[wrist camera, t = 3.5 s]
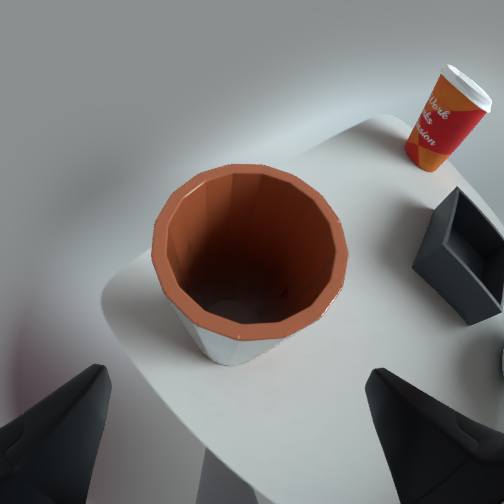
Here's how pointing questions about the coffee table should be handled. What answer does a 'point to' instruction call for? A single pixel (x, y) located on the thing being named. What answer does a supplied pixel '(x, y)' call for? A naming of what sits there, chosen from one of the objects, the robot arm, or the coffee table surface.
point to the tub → (464, 258)
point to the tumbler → (248, 259)
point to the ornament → (503, 362)
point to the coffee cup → (446, 119)
